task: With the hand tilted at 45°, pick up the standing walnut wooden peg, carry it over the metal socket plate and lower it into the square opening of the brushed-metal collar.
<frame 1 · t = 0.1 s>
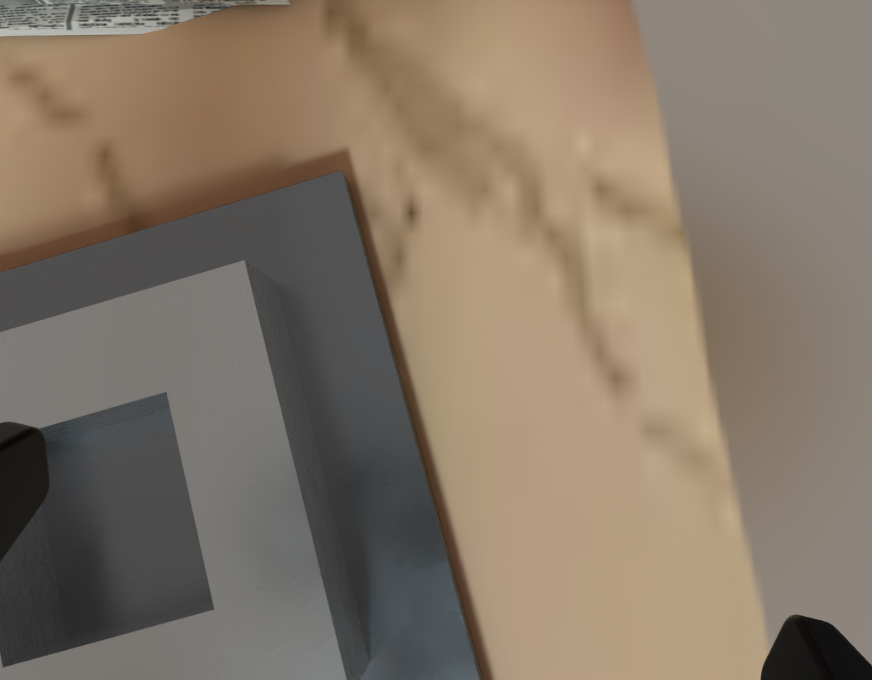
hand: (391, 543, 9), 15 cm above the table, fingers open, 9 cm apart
socket: (153, 512, 24), on the table
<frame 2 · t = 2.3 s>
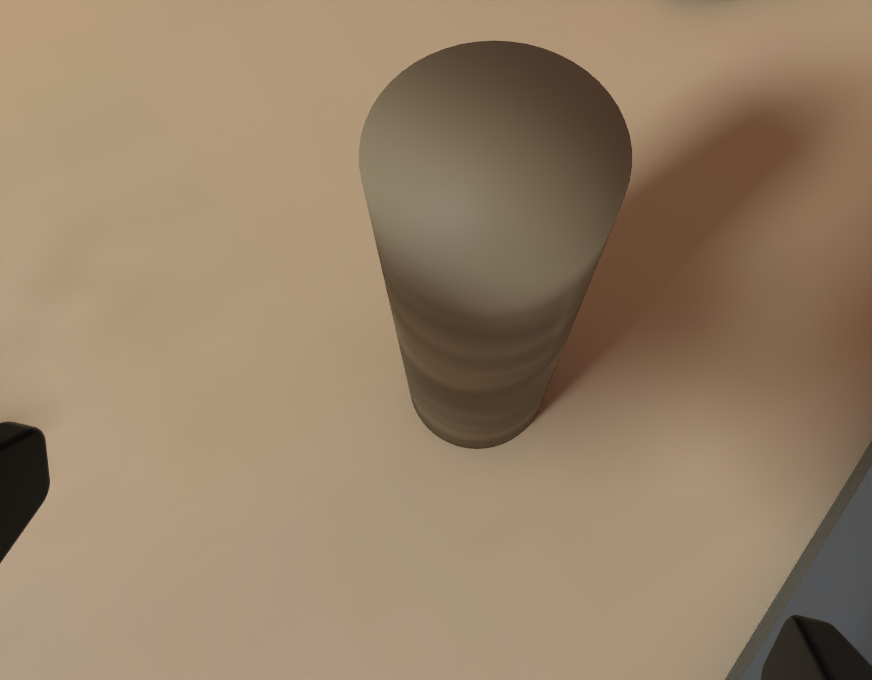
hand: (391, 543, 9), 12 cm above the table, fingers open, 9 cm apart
peg: (476, 382, 22), on the table
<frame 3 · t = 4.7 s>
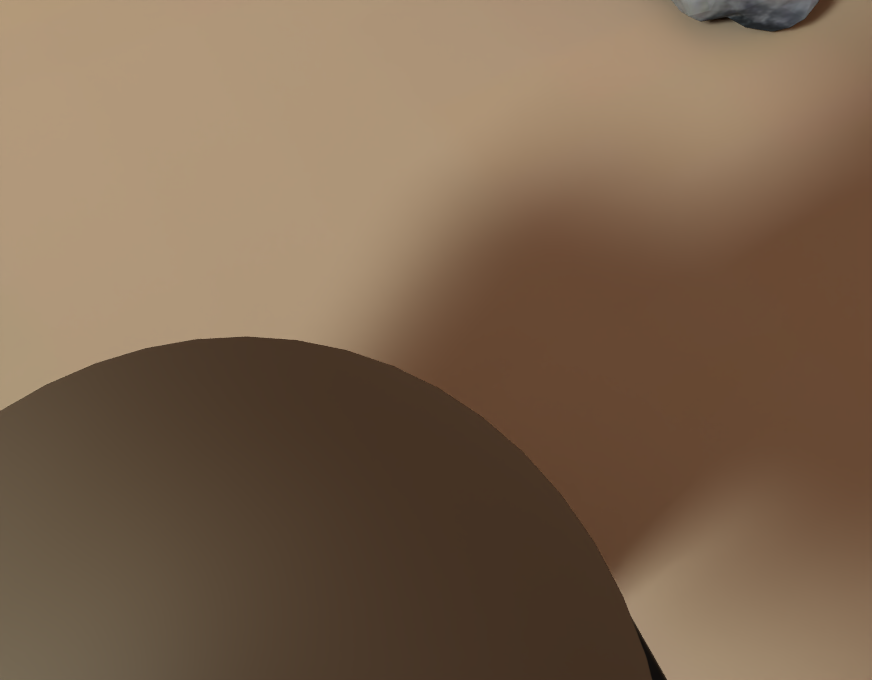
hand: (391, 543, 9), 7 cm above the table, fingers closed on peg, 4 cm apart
peg: (402, 639, 14), on the table, touching gripper
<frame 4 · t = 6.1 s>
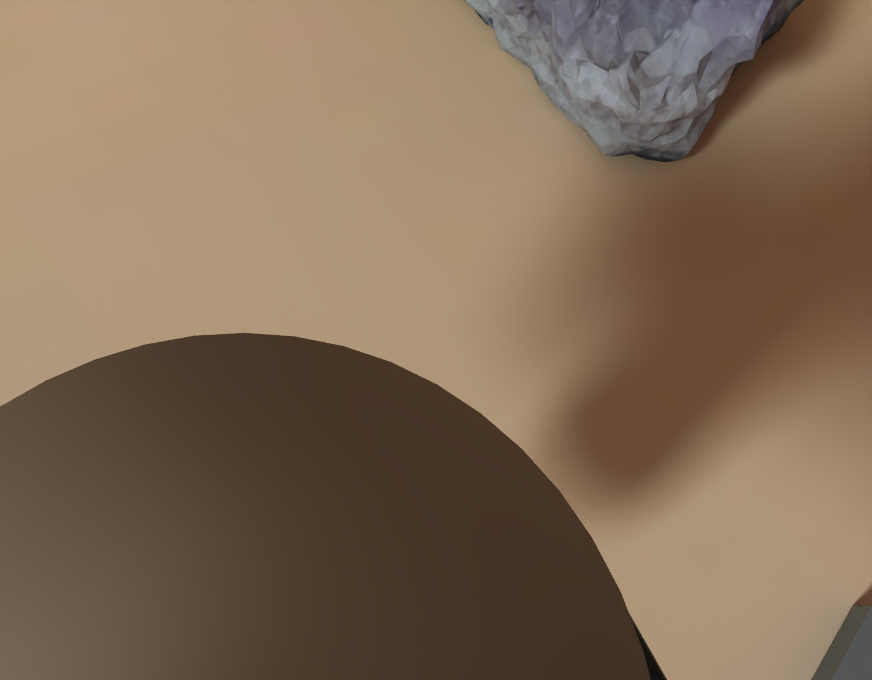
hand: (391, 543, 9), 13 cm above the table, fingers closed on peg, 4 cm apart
peg: (402, 638, 14), point 7 cm above the table, touching gripper
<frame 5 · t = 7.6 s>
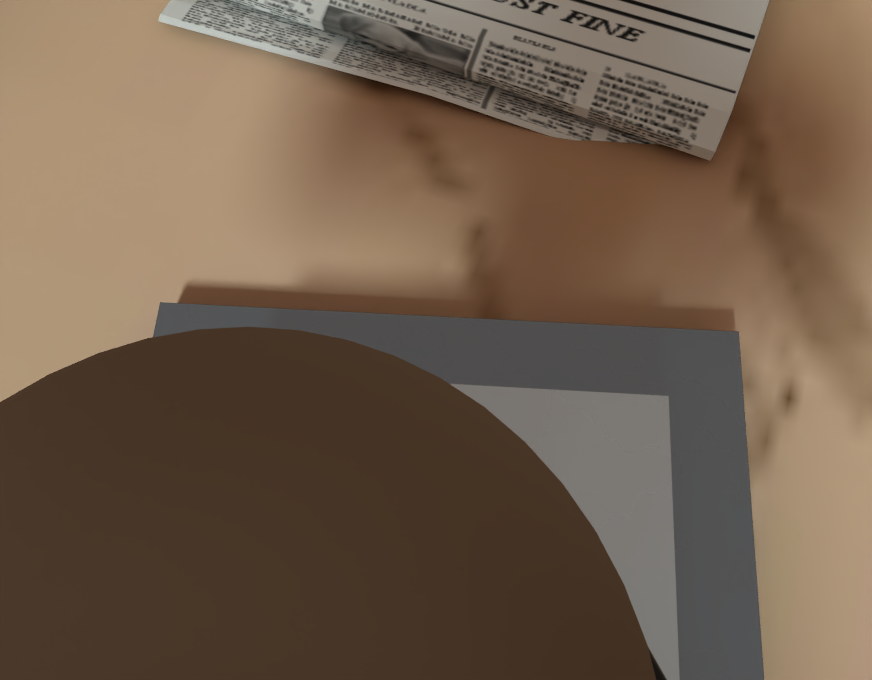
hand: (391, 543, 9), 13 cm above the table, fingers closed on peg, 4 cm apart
peg: (403, 636, 14), point 7 cm above the table, touching gripper
newspaper: (473, 6, 29), on the table
socket: (424, 625, 21), on the table
when the fingers open (8 cm above the table, at t = 9.3 s): peg stays where it is, resting on socket.
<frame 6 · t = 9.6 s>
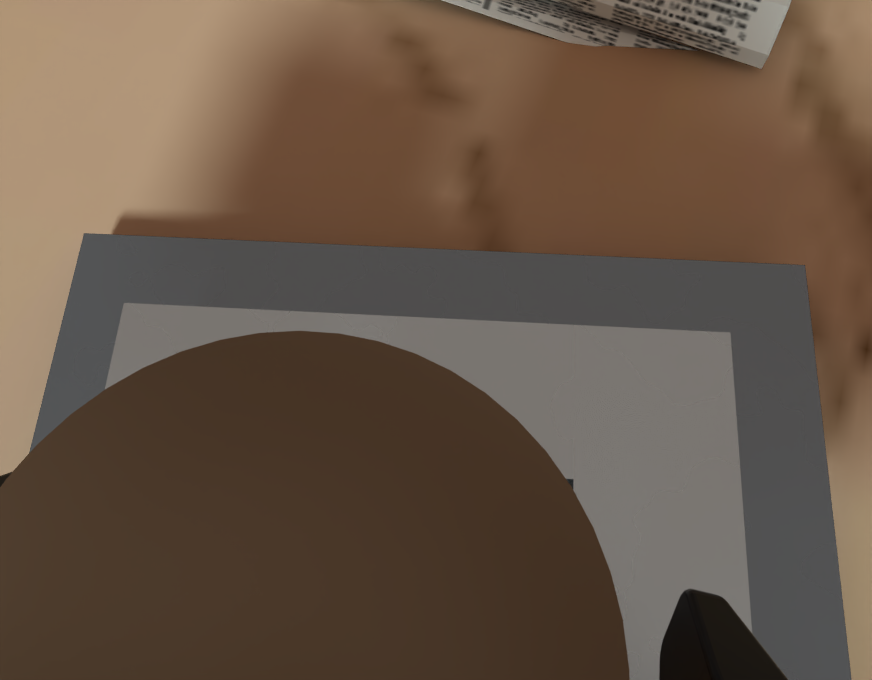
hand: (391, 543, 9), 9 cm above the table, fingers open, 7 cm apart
peg: (406, 637, 15), point 1 cm above the table, touching socket
socket: (410, 635, 16), on the table
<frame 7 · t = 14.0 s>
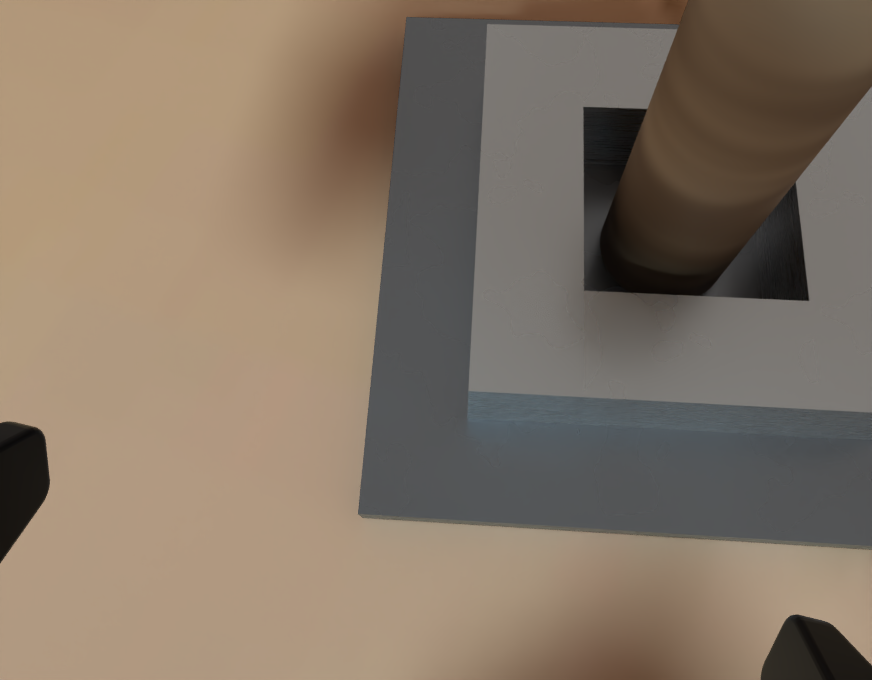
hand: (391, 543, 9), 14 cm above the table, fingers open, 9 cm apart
peg: (662, 246, 24), point 1 cm above the table, touching socket
socket: (655, 260, 25), on the table
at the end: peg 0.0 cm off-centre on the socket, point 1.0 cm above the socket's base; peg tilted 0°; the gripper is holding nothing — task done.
